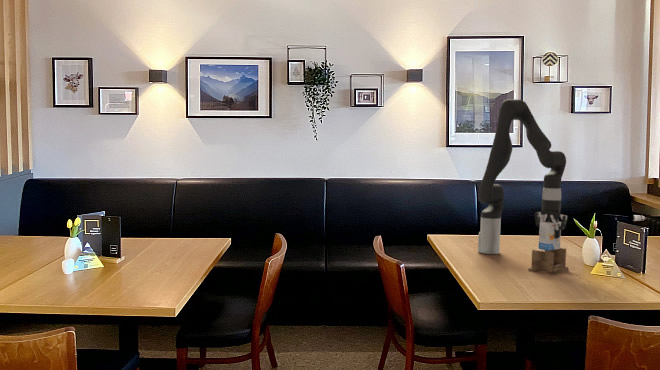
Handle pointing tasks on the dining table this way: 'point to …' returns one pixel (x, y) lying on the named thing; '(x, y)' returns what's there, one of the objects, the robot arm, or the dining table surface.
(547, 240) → the ink box
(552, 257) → the holder
